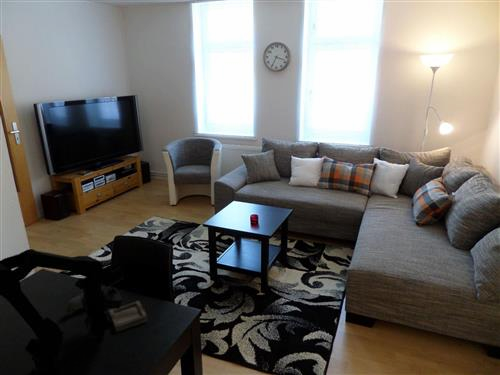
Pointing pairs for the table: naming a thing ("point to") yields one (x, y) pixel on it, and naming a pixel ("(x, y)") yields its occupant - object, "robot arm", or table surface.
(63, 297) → the table surface
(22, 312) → the robot arm
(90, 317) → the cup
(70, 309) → the decorative bird
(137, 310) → the birch stand
